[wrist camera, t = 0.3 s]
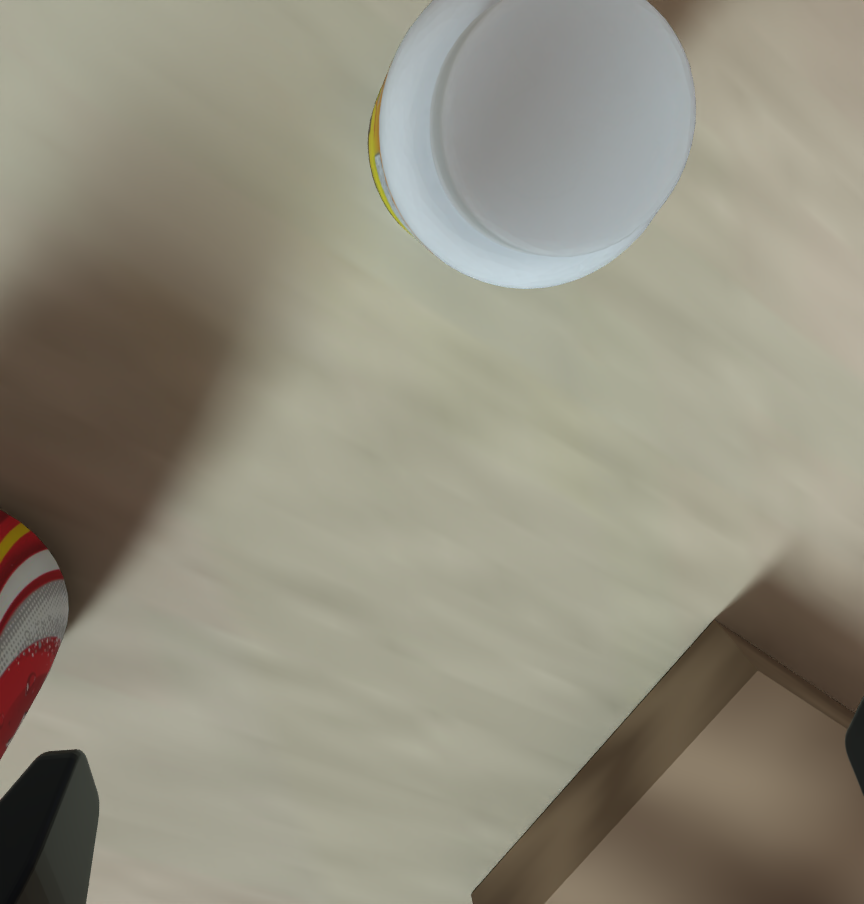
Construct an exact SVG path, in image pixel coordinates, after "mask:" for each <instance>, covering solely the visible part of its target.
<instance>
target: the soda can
mask: <svg viewBox="0 0 864 904" xmlns="http://www.w3.org/2000/svg"><path fill="white" fill-rule="evenodd" d="M68 612H69V605H68V593H67V589H66V585H65V581H64V578H63V575H62V573H61V571H60V569H59V567H58V564H57V562H56V561H55V559H54V558H53V556H52V555H51V553H50V552H49V550H48V549H47V547H46V546H45V545H44V544H43V543H42V542H41V541H40V539H39V538H38V537H37V536H36V535H35V534H34V533H33V532H32V531H30V530H29V529H28V528H27V527H26V526H24V525H23V524H22V523H21V522H19V521H18V520H16V519H15V518H13V517H11V516H10V515H8V514H7V513H5V512H3V511H1V510H0V759H1V758H2V756H3V754H4V752H5V751H6V749H7V747H8V745H9V744H10V742H11V740H12V738H13V737H14V735H15V733H16V731H17V730H18V728H19V726H20V724H21V723H22V721H23V719H24V717H25V716H26V714H27V712H28V710H29V708H30V707H31V705H32V703H33V701H34V699H35V698H36V696H37V694H38V692H39V690H40V689H41V687H42V685H43V683H44V681H45V679H46V678H47V676H48V674H49V672H50V670H51V667H52V664H53V662H54V659H55V657H56V654H57V652H58V649H59V647H60V644H61V641H62V639H63V636H64V632H65V629H66V626H67V621H68Z"/></svg>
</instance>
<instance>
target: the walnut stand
mask: <svg viewBox="0 0 864 904" xmlns="http://www.w3.org/2000/svg"><path fill="white" fill-rule="evenodd" d="M854 715H855V713H853V712H852V711H850V710H849V709H847V708H846V707H844V706H843V705H841V704H840V703H838V702H837V701H835V700H834V699H832V698H831V697H829V696H828V695H826V694H825V693H823V692H822V691H820V690H819V689H817V688H816V687H814V686H813V685H811V684H810V683H808V682H807V681H805V680H804V679H802V678H801V677H799V676H798V675H796V674H795V673H793V672H792V671H790V670H789V669H787V668H786V667H784V666H783V665H781V664H780V663H778V662H777V661H775V660H774V659H772V658H771V657H769V656H768V655H766V654H765V653H763V652H762V651H760V650H759V649H758V648H756V647H755V646H753V645H752V644H750V643H749V642H747V641H746V640H744V639H743V638H741V637H740V636H738V635H737V634H735V633H734V632H732V631H731V630H729V629H728V628H726V627H725V626H723V625H722V624H720V623H719V622H717V621H716V620H714V621H713V622H712V623H711V624H710V625H709V626H708V628H707V629H706V630H705V631H704V632H703V633H702V634H701V635H700V637H699V638H698V639H697V640H696V641H695V642H694V643H693V644H692V646H691V647H690V648H689V649H688V650H687V651H686V652H685V654H684V655H683V656H682V657H681V658H680V659H679V660H678V661H677V663H676V664H675V665H674V666H673V667H672V668H671V669H670V670H669V672H668V673H667V674H666V675H665V676H664V677H663V678H662V679H661V681H660V682H659V683H658V684H657V685H656V686H655V687H654V689H653V690H652V691H651V692H650V693H649V694H648V695H647V696H646V698H645V699H644V700H643V701H642V702H641V703H640V704H639V705H638V707H637V708H636V709H635V710H634V711H633V712H632V713H631V714H630V716H629V717H628V718H627V719H626V720H625V721H624V722H623V724H622V725H621V726H620V727H619V728H618V729H617V730H616V731H615V733H614V734H613V735H612V736H611V737H610V738H609V739H608V740H607V742H606V743H605V744H604V745H603V746H602V747H601V748H600V749H599V751H598V752H597V753H596V754H595V755H594V756H593V757H592V759H591V760H590V761H589V762H588V763H587V764H586V765H585V766H584V768H583V769H582V770H581V771H580V772H579V773H578V774H577V775H576V777H575V778H574V779H573V780H572V781H571V782H570V783H569V784H568V786H567V787H566V788H565V789H564V790H563V791H562V792H561V793H560V795H559V796H558V797H557V798H556V799H555V800H554V801H553V803H552V804H551V805H550V806H549V807H548V808H547V809H546V810H545V812H544V813H543V814H542V815H541V816H540V817H539V818H538V819H537V821H536V822H535V823H534V824H533V825H532V826H531V827H530V828H529V830H528V831H527V832H526V833H525V834H524V835H523V836H522V838H521V839H520V840H519V841H518V842H517V843H516V844H515V845H514V847H513V848H512V849H511V850H510V851H509V852H508V853H507V854H506V856H505V857H504V858H503V859H502V860H501V861H500V862H499V863H498V865H497V866H496V867H495V868H494V869H493V870H492V871H491V873H490V874H489V875H488V876H487V877H486V878H485V879H484V880H483V882H482V883H481V884H480V885H479V886H478V887H477V888H476V889H475V891H474V892H473V893H472V894H471V897H472V902H473V904H864V796H863V794H862V791H861V789H860V786H859V784H858V781H857V779H856V776H855V774H854V771H853V769H852V766H851V764H850V761H849V759H848V756H847V753H846V748H845V735H846V732H847V729H848V727H849V725H850V723H851V721H852V719H853V717H854Z"/></svg>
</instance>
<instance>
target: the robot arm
mask: <svg viewBox="0 0 864 904" xmlns="http://www.w3.org/2000/svg"><path fill="white" fill-rule="evenodd" d="M845 748H846V753H847V756H848V759H849V761H850V764H851V766H852V769H853V771H854V774H855V776H856V779H857V781H858V784H859V786H860V789H861V791H862V794H863V796H864V697H863V698H862V700H861V702H860V704H859V706H858V709H857V711H856V713H855V715H854V717H853V719H852V721H851V723H850V725H849V727H848V729H847V732H846V735H845ZM98 818H99V796H98V792H97V789H96V786H95V783H94V780H93V776H92V773H91V770H90V767H89V764H88V761H87V758H86V756H85V754H84V753H83V752H82V751H81V750H77V749H74V750H60V751H49V752H45V753H43V754H41V755H40V756H38V757H37V758H36V759H35V760H34V761H33V762H32V764H31V765H30V766H29V767H28V768H27V769H26V771H25V772H24V773H23V774H22V775H21V776H20V778H19V779H18V780H17V781H16V782H15V783H14V785H13V786H12V787H11V788H10V789H9V790H8V792H7V793H6V794H5V795H4V796H3V797H2V799H1V800H0V904H86V899H87V893H88V886H89V879H90V872H91V866H92V859H93V852H94V845H95V838H96V832H97V825H98Z"/></svg>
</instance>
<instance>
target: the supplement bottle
mask: <svg viewBox="0 0 864 904" xmlns="http://www.w3.org/2000/svg"><path fill="white" fill-rule="evenodd" d="M695 124H696V98H695V89H694V82H693V78H692V73H691V68H690V65H689V62H688V59H687V56H686V54H685V52H684V49H683V47H682V45H681V43H680V41H679V39H678V37H677V36H676V34H675V32H674V31H673V29H672V28H671V26H670V25H669V23H668V22H667V20H666V19H665V18H664V17H663V16H662V15H661V14H660V13H659V12H658V11H657V10H656V9H655V8H654V7H653V6H652V5H651V4H650V3H649V2H648V1H646V0H433V1H432V2H431V3H430V4H429V5H428V6H427V7H426V8H425V9H424V10H423V11H422V13H421V14H420V15H419V17H418V18H417V19H416V21H415V22H414V23H413V25H412V26H411V27H410V28H409V30H408V32H407V33H406V35H405V37H404V38H403V40H402V42H401V44H400V45H399V47H398V49H397V51H396V54H395V56H394V58H393V60H392V63H391V65H390V67H389V70H388V73H387V75H386V78H385V80H384V83H383V85H382V87H381V89H380V92H379V94H378V97H377V99H376V102H375V105H374V108H373V112H372V116H371V119H370V125H369V131H368V153H369V162H370V167H371V172H372V176H373V179H374V182H375V186H376V188H377V190H378V192H379V194H380V197H381V199H382V201H383V202H384V204H385V206H386V208H387V209H388V211H389V212H390V214H391V215H392V216H393V217H394V219H395V220H396V221H397V222H398V223H399V224H400V225H401V226H402V227H403V228H404V229H405V230H406V231H407V232H408V233H409V234H411V235H412V236H413V237H414V238H415V239H416V240H417V241H418V242H420V243H421V244H422V245H423V246H425V247H426V248H427V249H428V250H429V251H430V252H431V253H432V254H434V255H435V256H436V257H437V258H439V259H440V260H442V261H443V262H444V263H446V264H447V265H449V266H450V267H452V268H454V269H455V270H457V271H459V272H461V273H463V274H465V275H467V276H469V277H472V278H474V279H476V280H480V281H483V282H486V283H489V284H493V285H497V286H502V287H508V288H520V289H532V288H545V287H552V286H556V285H560V284H564V283H567V282H571V281H574V280H577V279H579V278H582V277H584V276H586V275H588V274H591V273H593V272H594V271H596V270H598V269H600V268H602V267H603V266H605V265H606V264H608V263H609V262H611V261H612V260H613V259H615V258H616V257H617V256H619V255H620V254H621V253H622V252H624V251H625V250H626V249H627V248H628V247H629V246H630V245H631V244H632V243H633V242H634V241H635V240H636V239H637V238H638V237H639V236H640V235H641V234H642V233H643V232H644V230H645V229H646V228H647V226H648V225H649V223H650V222H651V221H652V219H653V218H654V216H655V215H656V213H657V212H658V210H659V209H660V208H661V207H662V205H663V204H664V203H665V201H666V200H667V199H668V197H669V196H670V194H671V193H672V191H673V189H674V188H675V186H676V184H677V182H678V181H679V179H680V176H681V174H682V172H683V170H684V168H685V165H686V162H687V159H688V155H689V152H690V149H691V146H692V140H693V135H694V129H695Z"/></svg>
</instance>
